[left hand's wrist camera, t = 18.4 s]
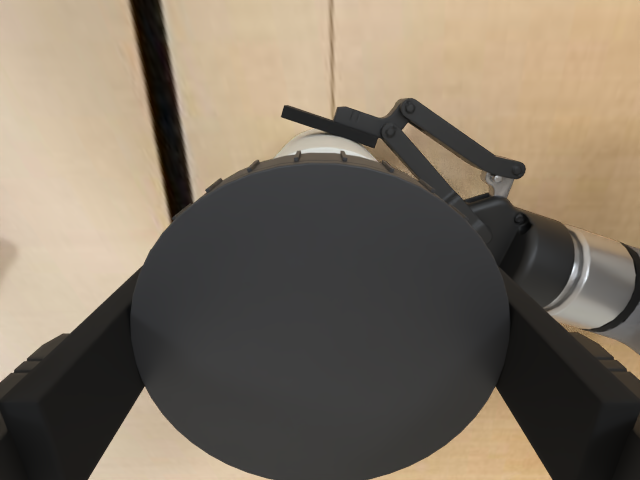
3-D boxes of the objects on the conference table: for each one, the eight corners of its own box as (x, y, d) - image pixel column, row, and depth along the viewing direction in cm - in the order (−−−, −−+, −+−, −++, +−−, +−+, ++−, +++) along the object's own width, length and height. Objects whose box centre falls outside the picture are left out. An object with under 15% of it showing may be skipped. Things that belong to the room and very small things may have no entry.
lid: (523, 378, 13) (554, 420, 11) (256, 472, 15) (247, 523, 13) (416, 80, 10) (437, 76, 8) (86, 244, 11) (44, 270, 10)
